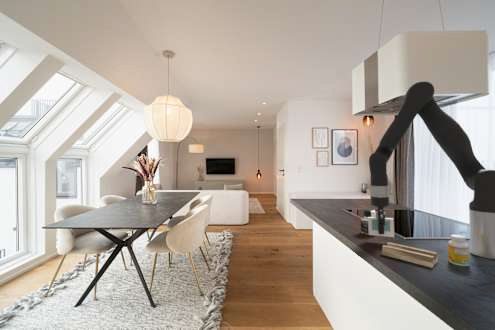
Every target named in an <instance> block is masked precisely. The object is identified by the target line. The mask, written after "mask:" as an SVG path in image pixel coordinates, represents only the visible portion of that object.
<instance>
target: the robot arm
mask: <svg viewBox="0 0 495 330" xmlns="http://www.w3.org/2000/svg"><path fill="white" fill-rule="evenodd" d="M434 94H435V87H434V85H433V83H431V82H430V81H426V80H422V81H417V82H415V83H413V84H412V85H411V86H410V87H409V88H408V89H407V91H406V93H405V100H404V103H403V104H402V107H401V108H400V109H399V112H398V114H397V115H396V117H395V118H394V119H393V121H392V122H391V124H390V125H389V126H388V128H387V129H386V130H385V133H384V134H383V136H382V137H381V138H380V141H379V145H378V146H377V148H375V149H376V150H375V151H374V152H373V153H371V155H370V156H369V157H368V165H369V173H370V189H369V191H370V193H369V194H370V206H372V207H376V208H375V209H374V210H375V213H376V219H377V220H378V233H379V234H384V226H385V218H386V215H387V214H386V213H387V212H386V209H384V208H387V207H390V188H389V176H388V174H387V167H388V166H387V164H388V162H389V160H390V159H391V157H392V155H393V152H394V151H395V150H396V148H397V147H398V146H399V144H400V142H401V141H402V140H403V137H404V136H405V135H406V133H407V131H408V129H409V128H410V126H411V124H412V122H413V121H414V119H415V117H416V116H419V117H420V118H421V119H422V122H423V123H424V125H425V126H426V128H427V130H428V131H429V133H430V134H431V135H432V137H433V138H434V140H435V141H436V143H437V144H438V145H439V147H440V148H441V149H442V150H443V152H444V153H445V154H446V156H447V157H448V159H449V160H450V161H451V162H452V164H453V165H454V166H455V168H456V169H457V171H458V173H459V175H460V176H461V178H462V180H463V181H464V183H465V185H466V187H468V188H469V189H470V190H472V191H473V198H472V200H471V201H470V202H469V207H468V208H469V209H468V211H469V214H468V215H469V252H470V254H472V255H475V256H476V257H479V258H480V257H481V258H485V259H491V260H495V170H494V169H487V168H485V167H484V166H483V165H482V163H481V162H480V161H479V160H478V159H477V157H476V156H475V154H474V149H473V148H472V143H471V140H470V138H469V136H468V134H467V133H466V131H465V130H464V128H462V126H461V125H460V124H459V122H457V121H456V120H455V119H454V118H453V117H452V116H450V115H449V114H448V113H446V111H444V110H443V109H441V107H440V106H439V104H438V103H437V102H436V100H435V98H434V96H435V95H434ZM380 222H383V223H380Z"/></svg>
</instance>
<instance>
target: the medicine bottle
mask: <svg viewBox="0 0 495 330" xmlns="http://www.w3.org/2000/svg"><path fill="white" fill-rule="evenodd" d="M368 217H376V213H375V209H364V210H363V218H361V219H360V233H361V234H364V233H365V235H369V228H368ZM373 236H375V235H373ZM375 237H376V236H375Z"/></svg>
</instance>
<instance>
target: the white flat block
mask: <svg viewBox="0 0 495 330" xmlns="http://www.w3.org/2000/svg"><path fill="white" fill-rule="evenodd" d="M394 219H395V218H393V217H385V226H384V234H379V233H378V220H377V219H376V217H368V228H369V234H368V236H374V235H375V237H376V236H378V237H389V238H395V227H394V225H395V224H394V223H395V222H394ZM380 223H383V222H380Z"/></svg>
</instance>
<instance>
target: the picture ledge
mask: <svg viewBox="0 0 495 330" xmlns="http://www.w3.org/2000/svg"><path fill="white" fill-rule="evenodd" d="M381 248H382V249H381V255H382V256H386V257H390V258H394V259H398V260H402V261H404V262H405V261H406V262H409V263H413V264H416V265H420V266H424V267H427V268H431V269H433V268H434V266H436V264H437V263H438V261H439V259H438V252H436V251H430V250H427V249H421V248H418V247H413V246H409V245H404V244H403V245H402V244H399V243H393V242H389V241H388V242H387V243H386V245H385V244H383V245H382V247H381Z"/></svg>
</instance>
